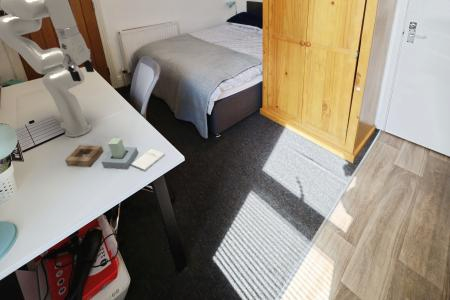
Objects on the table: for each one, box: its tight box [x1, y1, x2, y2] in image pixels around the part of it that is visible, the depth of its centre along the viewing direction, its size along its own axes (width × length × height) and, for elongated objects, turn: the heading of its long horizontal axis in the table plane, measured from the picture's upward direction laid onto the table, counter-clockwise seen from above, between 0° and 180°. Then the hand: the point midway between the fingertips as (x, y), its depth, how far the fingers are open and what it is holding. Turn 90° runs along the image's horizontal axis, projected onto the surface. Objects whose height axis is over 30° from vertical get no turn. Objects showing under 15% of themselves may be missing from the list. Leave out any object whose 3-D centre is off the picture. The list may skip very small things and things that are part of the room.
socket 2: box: [101, 146, 139, 170], centre depth 121 cm, size 11×11×3 cm
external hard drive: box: [130, 148, 166, 172], centre depth 121 cm, size 2×8×12 cm
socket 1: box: [65, 144, 104, 168], centre depth 124 cm, size 11×11×3 cm
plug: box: [107, 137, 126, 159], centre depth 119 cm, size 4×4×10 cm
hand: (84, 76), depth 114 cm, fingers open, 9 cm apart
